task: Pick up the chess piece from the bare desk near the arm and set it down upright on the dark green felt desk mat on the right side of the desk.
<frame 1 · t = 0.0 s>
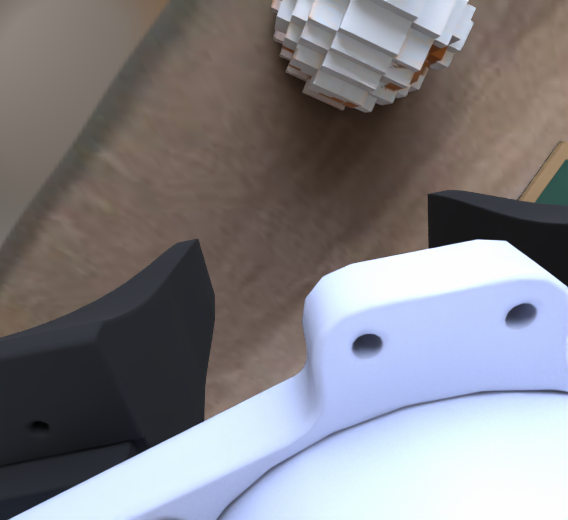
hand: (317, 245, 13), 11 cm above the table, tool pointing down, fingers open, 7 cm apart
decorative ornament: (350, 25, 21), on the table
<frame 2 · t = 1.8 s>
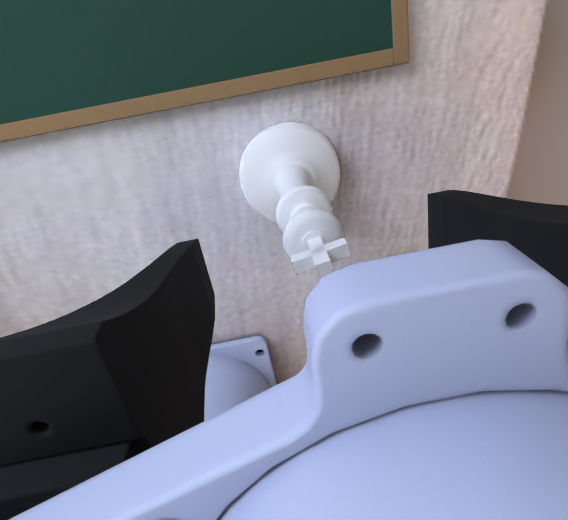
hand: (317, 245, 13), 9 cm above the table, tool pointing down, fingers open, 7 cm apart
chess piece: (289, 173, 21), on the table
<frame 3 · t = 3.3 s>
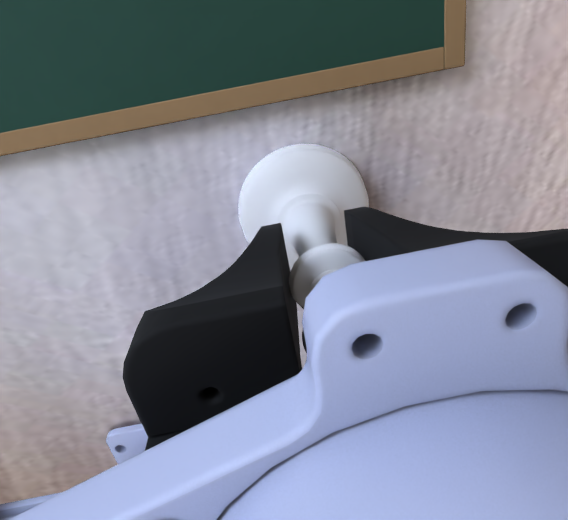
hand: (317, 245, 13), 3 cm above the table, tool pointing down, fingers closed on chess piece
chess piece: (302, 206, 16), on the table, touching gripper
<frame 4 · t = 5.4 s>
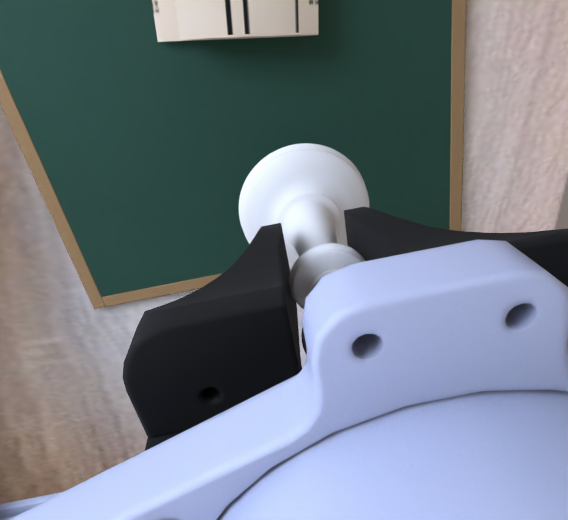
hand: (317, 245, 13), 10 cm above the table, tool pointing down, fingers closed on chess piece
desk mat: (247, 124, 21), on the table
chess piece: (302, 206, 16), point 7 cm above the table, touching gripper
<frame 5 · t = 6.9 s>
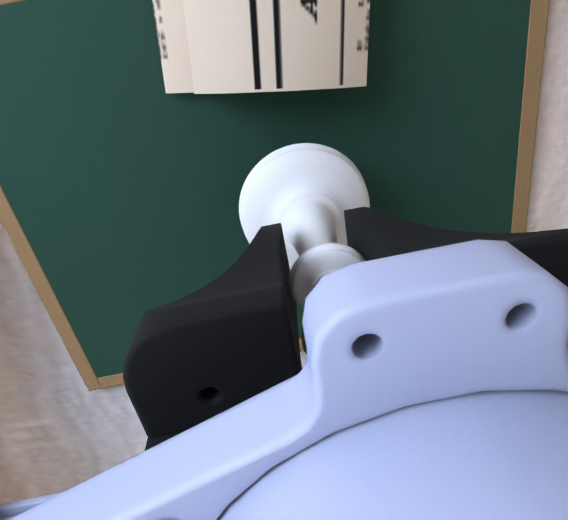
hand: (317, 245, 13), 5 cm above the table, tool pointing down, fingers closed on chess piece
desk mat: (271, 185, 18), on the table
chess piece: (303, 206, 16), point 2 cm above the table, touching gripper
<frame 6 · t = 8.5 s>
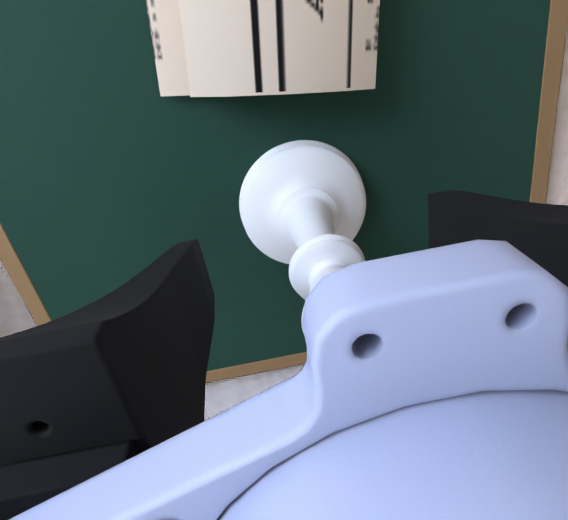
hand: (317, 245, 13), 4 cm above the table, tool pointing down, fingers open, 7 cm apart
desk mat: (273, 193, 17), on the table
chess piece: (301, 202, 17), resting on desk mat
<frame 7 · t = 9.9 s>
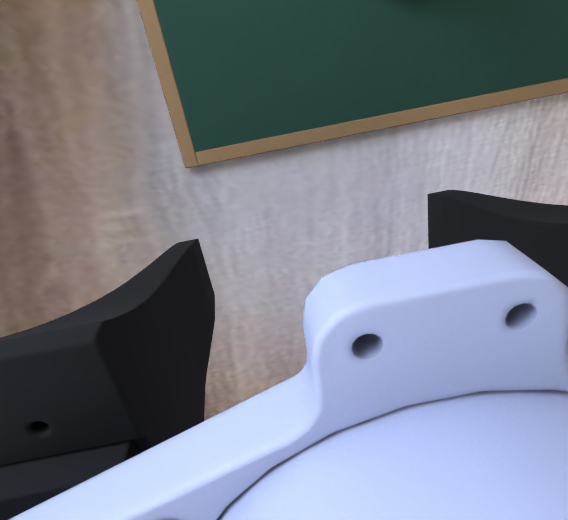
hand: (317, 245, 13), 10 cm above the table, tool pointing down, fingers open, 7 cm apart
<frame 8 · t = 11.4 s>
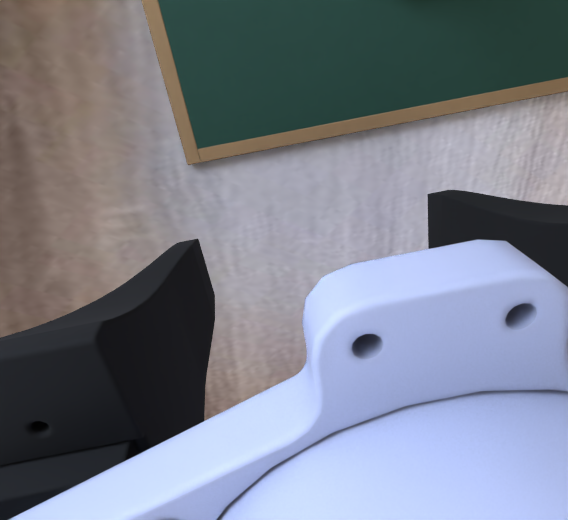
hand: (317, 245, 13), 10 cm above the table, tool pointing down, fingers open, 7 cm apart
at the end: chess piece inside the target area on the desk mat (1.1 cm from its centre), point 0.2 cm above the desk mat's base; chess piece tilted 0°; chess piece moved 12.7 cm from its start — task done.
